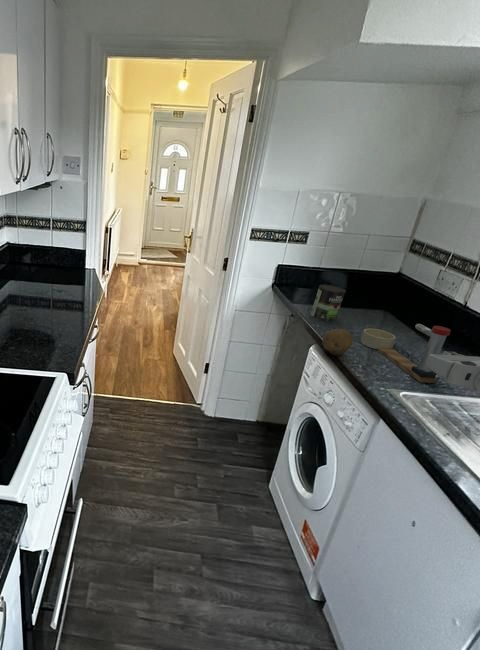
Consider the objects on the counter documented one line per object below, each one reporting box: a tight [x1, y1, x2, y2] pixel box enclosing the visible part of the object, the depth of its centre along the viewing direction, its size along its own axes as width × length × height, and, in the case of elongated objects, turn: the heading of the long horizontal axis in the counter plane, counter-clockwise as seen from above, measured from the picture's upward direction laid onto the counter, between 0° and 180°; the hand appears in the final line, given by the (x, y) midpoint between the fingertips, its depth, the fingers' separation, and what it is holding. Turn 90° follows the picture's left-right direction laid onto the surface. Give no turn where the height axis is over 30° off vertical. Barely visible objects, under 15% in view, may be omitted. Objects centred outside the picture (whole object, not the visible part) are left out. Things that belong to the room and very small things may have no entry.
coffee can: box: [309, 284, 347, 323], centre depth 179 cm, size 10×10×14 cm
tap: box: [411, 323, 452, 378], centre depth 134 cm, size 12×5×16 cm, turn 179°
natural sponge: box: [321, 328, 354, 356], centre depth 145 cm, size 9×9×10 cm
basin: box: [359, 327, 397, 350], centre depth 156 cm, size 10×10×5 cm
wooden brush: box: [377, 348, 438, 384], centre depth 141 cm, size 22×5×2 cm, turn 179°
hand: (447, 353), depth 125 cm, fingers closed
